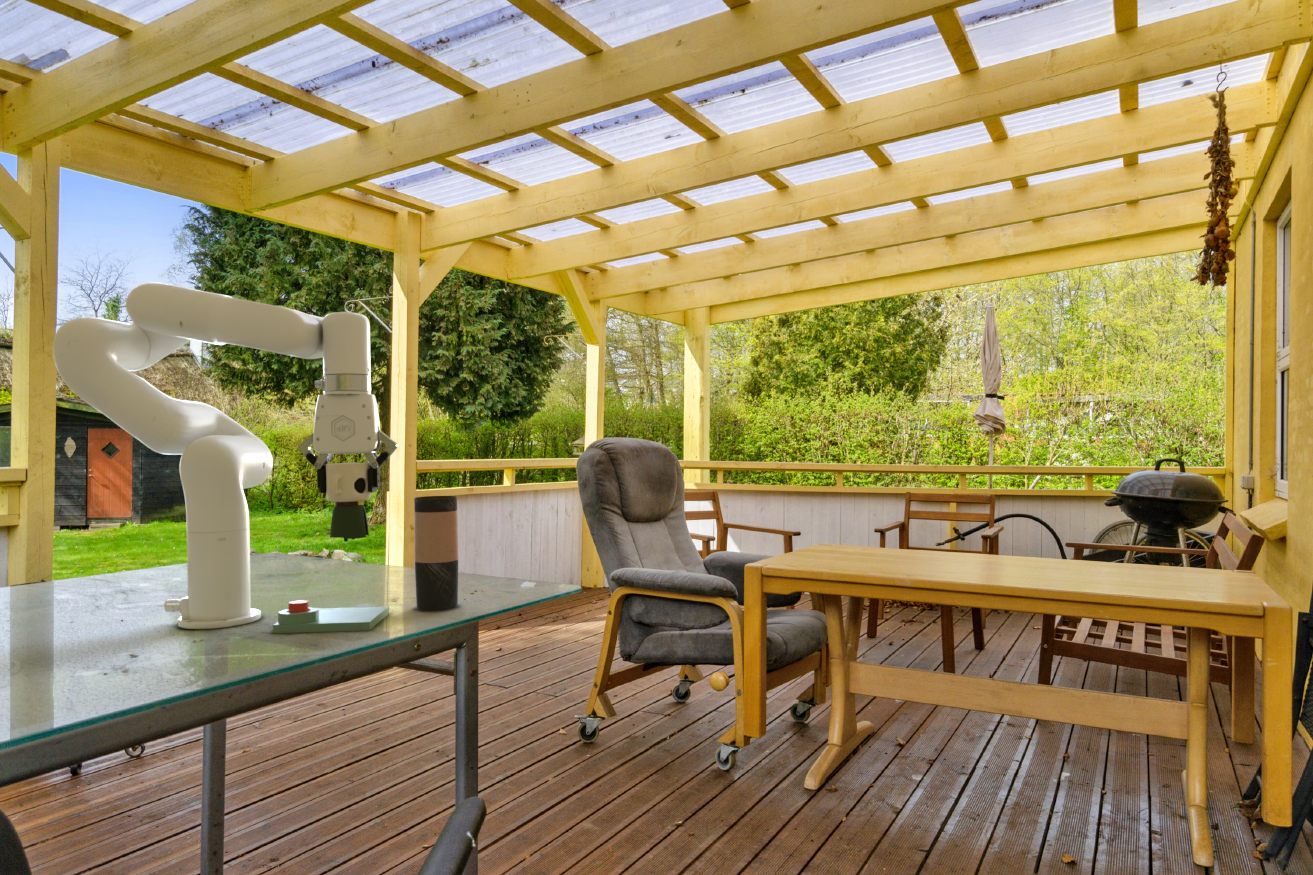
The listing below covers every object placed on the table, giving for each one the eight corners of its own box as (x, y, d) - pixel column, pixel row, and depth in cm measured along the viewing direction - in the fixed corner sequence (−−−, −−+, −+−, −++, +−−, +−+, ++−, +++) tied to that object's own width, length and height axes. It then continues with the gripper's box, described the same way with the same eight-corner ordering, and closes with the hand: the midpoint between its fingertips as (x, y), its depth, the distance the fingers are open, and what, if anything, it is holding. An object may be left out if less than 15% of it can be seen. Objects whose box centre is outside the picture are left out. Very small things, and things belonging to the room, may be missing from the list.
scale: (272, 633, 136) (272, 614, 136) (300, 616, 149) (300, 599, 149) (369, 630, 137) (369, 611, 137) (389, 614, 150) (388, 597, 150)
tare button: (285, 614, 137) (285, 603, 137) (292, 610, 140) (292, 600, 140) (305, 614, 138) (304, 603, 138) (311, 610, 141) (311, 599, 141)
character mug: (355, 544, 139) (354, 463, 139) (313, 544, 139) (312, 464, 139) (383, 536, 149) (382, 461, 149) (344, 536, 150) (342, 462, 150)
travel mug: (464, 603, 158) (463, 495, 158) (450, 612, 151) (449, 498, 151) (424, 603, 159) (423, 495, 159) (408, 612, 152) (407, 498, 152)
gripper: (286, 386, 140) (287, 494, 140) (394, 384, 141) (396, 492, 141) (302, 388, 147) (303, 492, 147) (404, 387, 149) (406, 490, 149)
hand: (349, 491), depth 144 cm, fingers closed on character mug, 7 cm apart
